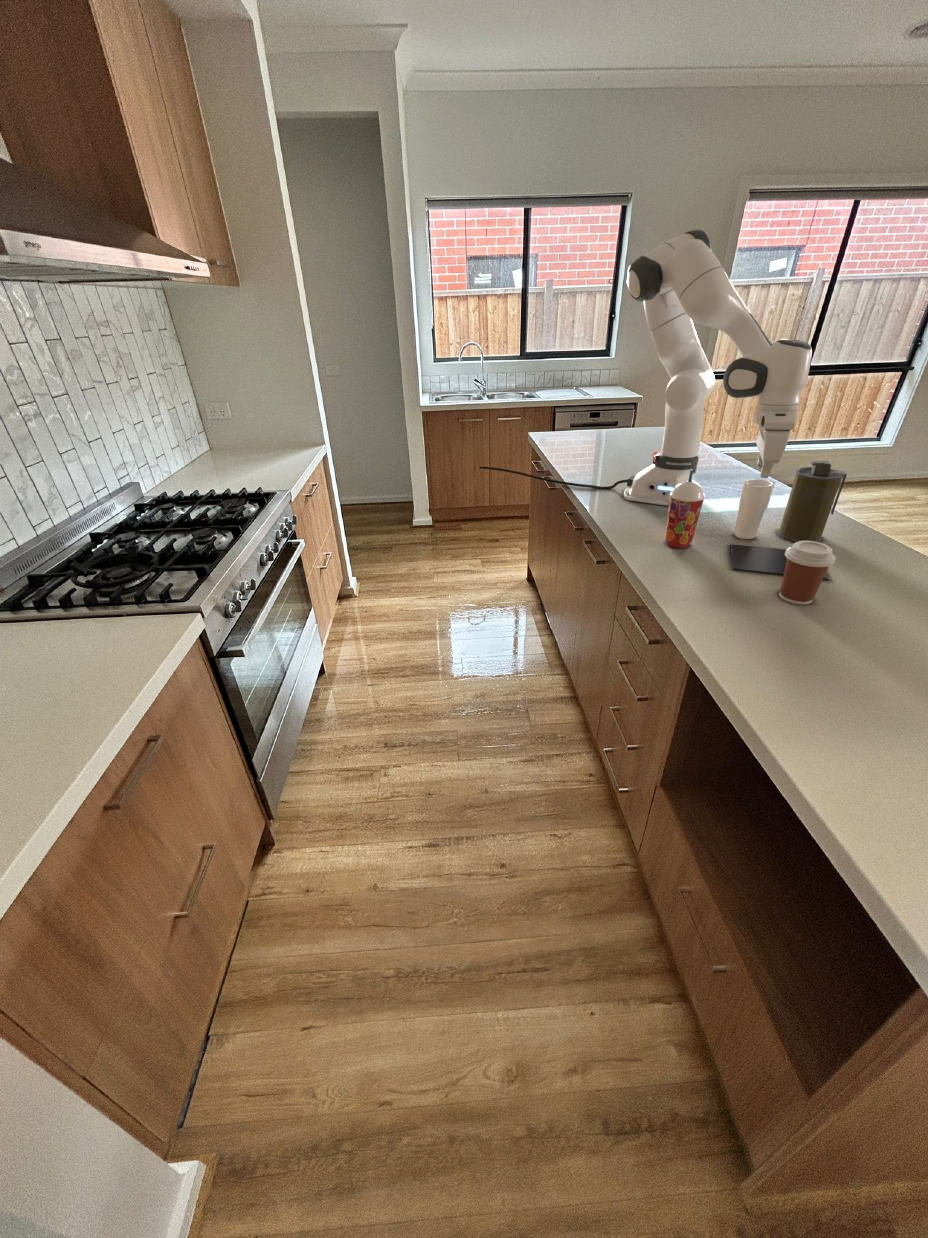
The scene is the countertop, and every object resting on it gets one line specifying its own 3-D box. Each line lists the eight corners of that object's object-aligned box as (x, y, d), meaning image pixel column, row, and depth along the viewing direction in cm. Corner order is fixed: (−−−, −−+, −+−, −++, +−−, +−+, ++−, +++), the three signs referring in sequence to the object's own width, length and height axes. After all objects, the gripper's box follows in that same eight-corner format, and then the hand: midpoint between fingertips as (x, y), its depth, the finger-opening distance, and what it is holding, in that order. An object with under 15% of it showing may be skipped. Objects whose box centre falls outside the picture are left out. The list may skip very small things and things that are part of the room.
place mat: (733, 569, 125) (733, 568, 124) (729, 545, 136) (730, 544, 136) (828, 580, 118) (828, 578, 118) (816, 553, 130) (816, 552, 130)
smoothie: (693, 539, 141) (709, 466, 130) (694, 551, 134) (710, 476, 124) (661, 536, 143) (674, 465, 133) (661, 548, 137) (674, 474, 126)
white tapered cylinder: (726, 532, 144) (739, 479, 136) (749, 530, 144) (763, 478, 136) (739, 542, 138) (753, 487, 130) (763, 540, 138) (779, 485, 130)
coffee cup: (764, 587, 117) (779, 538, 110) (805, 586, 116) (823, 537, 110) (784, 608, 109) (801, 556, 103) (828, 607, 108) (848, 555, 102)
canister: (780, 541, 137) (803, 466, 127) (775, 527, 145) (796, 455, 135) (827, 545, 134) (854, 469, 123) (819, 530, 142) (844, 457, 131)
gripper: (757, 407, 133) (745, 460, 141) (765, 423, 117) (751, 482, 125) (785, 407, 131) (771, 461, 138) (797, 423, 115) (781, 484, 122)
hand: (762, 471), depth 131 cm, fingers open, 8 cm apart
